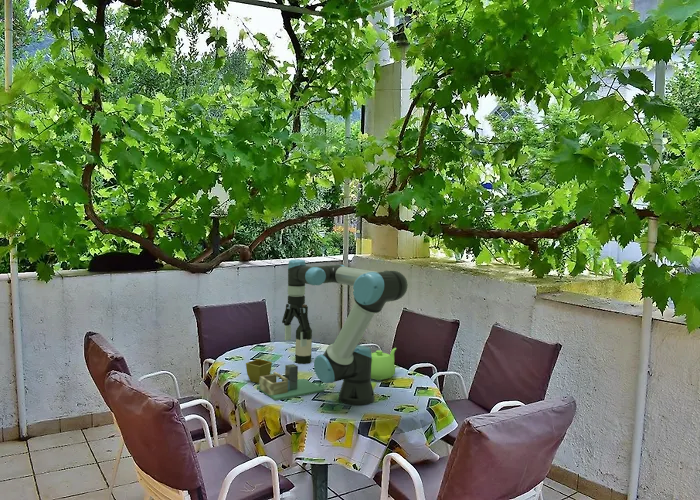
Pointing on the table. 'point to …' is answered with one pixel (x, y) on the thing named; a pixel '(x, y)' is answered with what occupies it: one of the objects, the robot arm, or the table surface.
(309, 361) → the wine bottle
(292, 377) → the block
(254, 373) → the flower pot
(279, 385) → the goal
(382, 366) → the teapot
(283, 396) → the board
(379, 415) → the table surface
